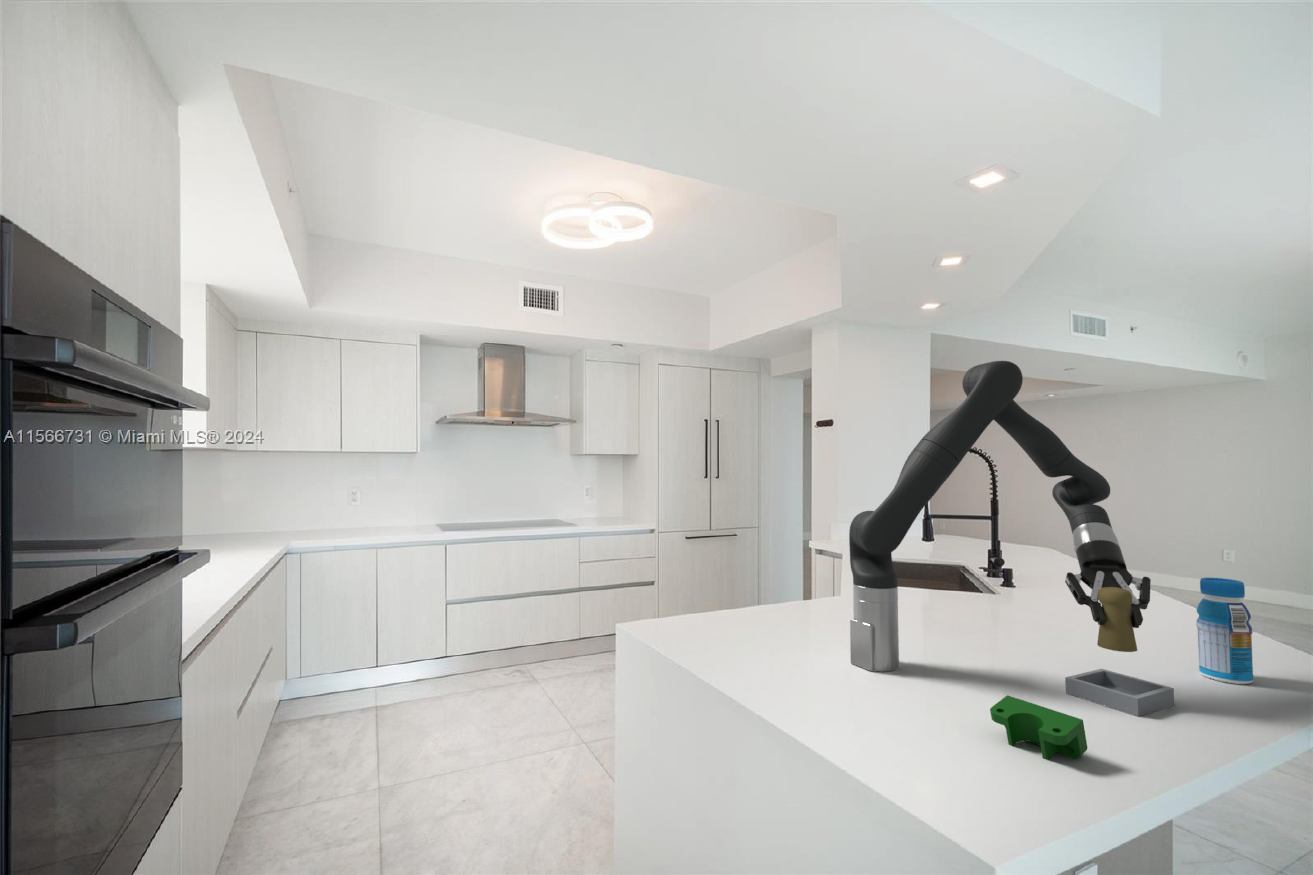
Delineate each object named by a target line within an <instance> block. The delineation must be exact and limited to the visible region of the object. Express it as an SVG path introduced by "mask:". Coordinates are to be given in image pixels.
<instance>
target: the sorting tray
mask: <svg viewBox="0 0 1313 875" xmlns="http://www.w3.org/2000/svg"><path fill="white" fill-rule="evenodd" d="M1064 679H1065V681H1064V682H1065V694H1066V693H1068V694H1067V695H1069V694H1071V695H1070V696H1073V695H1074V697H1076V696H1078V697H1077V698H1079V697H1081V698H1080V699H1082V698H1084V699H1083V700H1085V699H1086V701H1088V700H1091V701H1093V702H1092V703H1094V702H1096V703H1095V704H1098V705H1100V706H1104V705H1105V707H1107V708H1110V709H1114V710H1117V711H1120V712H1123V713H1126V714H1130V715H1131V716H1132V715H1133V716H1135V717H1141V716H1144V715H1147V714H1151V713H1153V712H1157V711H1161V710H1163V709H1167V708H1170V707H1172V706H1176V705H1175V688H1174V687H1170V686H1167V685H1165V684H1159V683H1156V682H1153V681H1150V680H1149V681H1148V680H1144V679H1141V678H1138V677H1134V676H1130V675H1126V674H1122V673H1118V672H1115V671H1112V670H1108V669H1104V668H1098V669H1095V670H1091V671H1086V672H1082V673H1078V674H1073V675H1070V676H1065V678H1064ZM1091 701H1090V702H1091Z"/></svg>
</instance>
